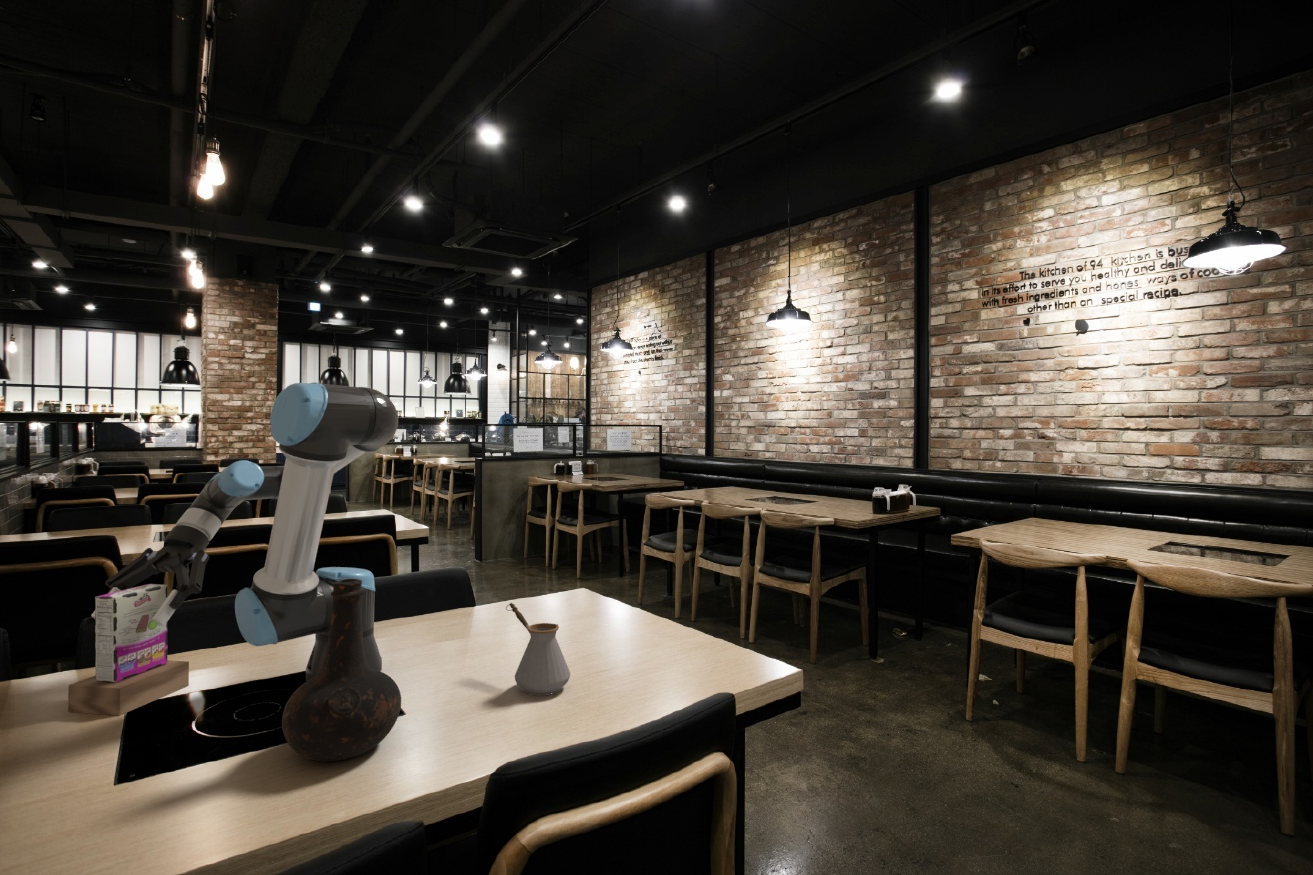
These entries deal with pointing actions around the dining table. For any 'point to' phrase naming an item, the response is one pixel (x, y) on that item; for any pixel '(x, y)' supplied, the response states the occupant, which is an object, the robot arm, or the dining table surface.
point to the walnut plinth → (127, 690)
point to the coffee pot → (541, 660)
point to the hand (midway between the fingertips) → (127, 621)
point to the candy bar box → (129, 632)
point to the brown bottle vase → (342, 691)
